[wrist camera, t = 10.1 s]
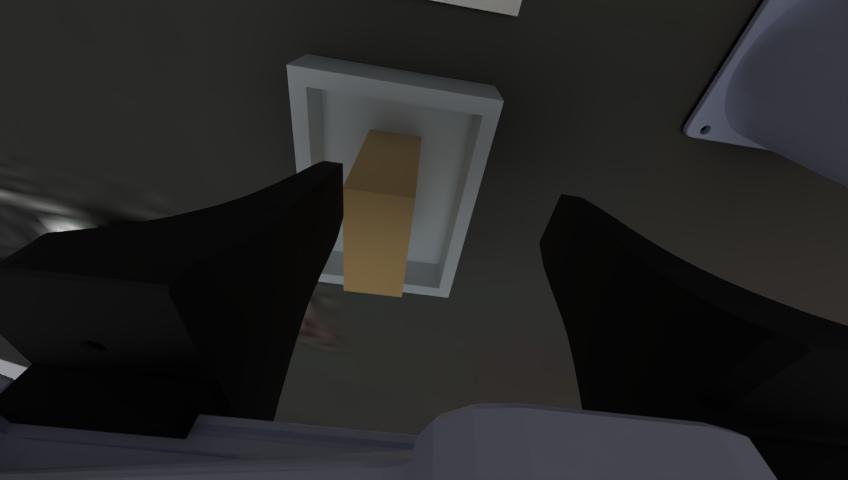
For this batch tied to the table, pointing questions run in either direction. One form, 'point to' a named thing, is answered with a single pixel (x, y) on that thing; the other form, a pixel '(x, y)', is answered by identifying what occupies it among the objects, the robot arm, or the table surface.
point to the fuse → (379, 213)
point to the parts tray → (411, 115)
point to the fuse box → (489, 5)
